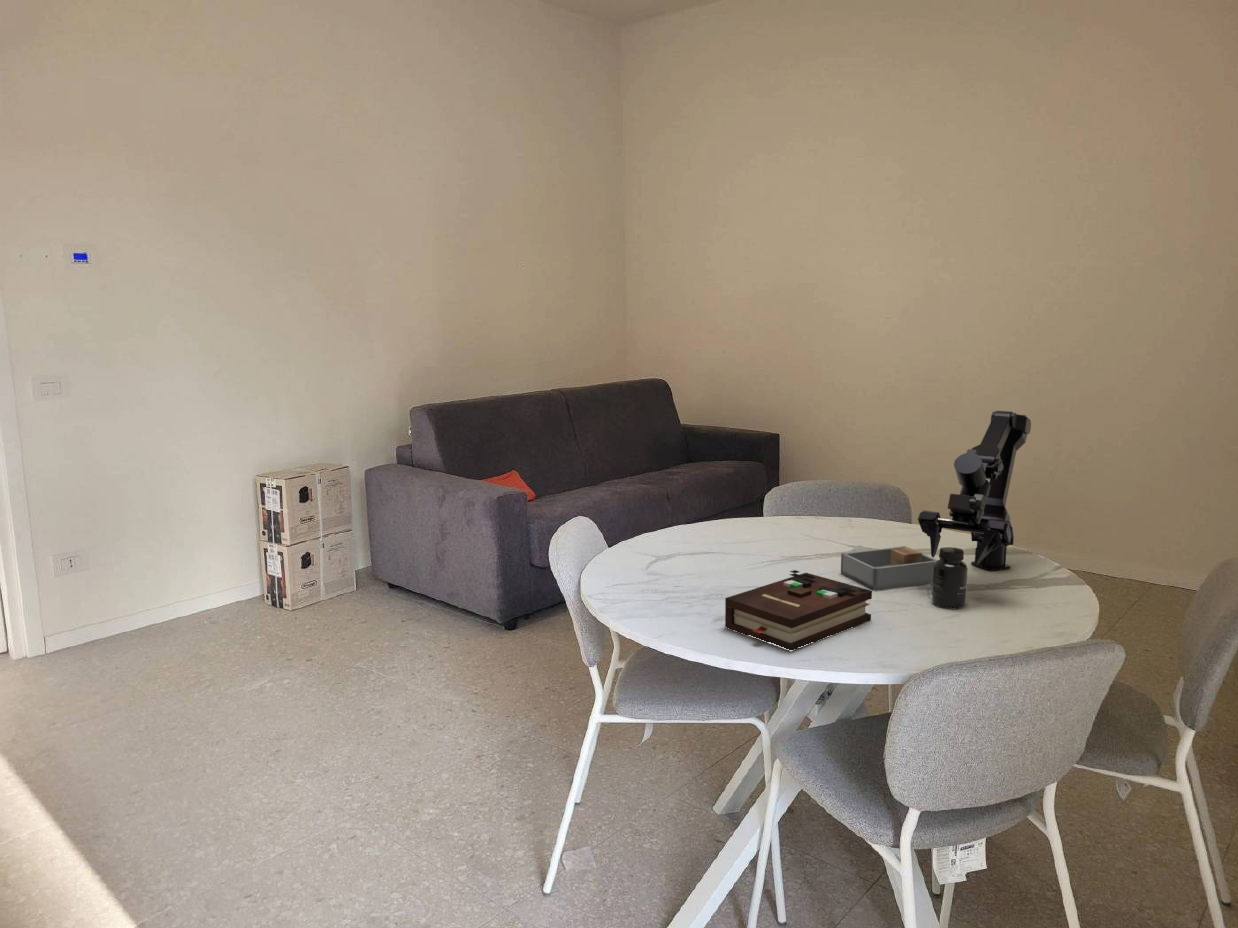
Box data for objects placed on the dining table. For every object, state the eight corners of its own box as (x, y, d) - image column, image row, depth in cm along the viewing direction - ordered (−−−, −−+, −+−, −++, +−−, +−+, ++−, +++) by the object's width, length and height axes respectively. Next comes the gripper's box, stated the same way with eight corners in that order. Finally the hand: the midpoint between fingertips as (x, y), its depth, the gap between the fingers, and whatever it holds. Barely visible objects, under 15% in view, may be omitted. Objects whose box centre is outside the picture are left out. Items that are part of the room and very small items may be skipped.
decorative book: (712, 595, 181) (808, 565, 200) (712, 631, 183) (807, 598, 202) (788, 620, 167) (884, 585, 186) (787, 659, 168) (882, 621, 187)
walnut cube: (908, 567, 218) (908, 547, 217) (921, 573, 213) (922, 552, 213) (890, 569, 217) (891, 549, 216) (903, 575, 212) (903, 554, 211)
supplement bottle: (968, 610, 191) (971, 554, 189) (934, 608, 193) (936, 553, 191) (962, 599, 198) (965, 546, 196) (929, 597, 199) (932, 544, 197)
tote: (903, 565, 223) (904, 546, 222) (939, 581, 210) (940, 561, 209) (840, 573, 217) (841, 553, 217) (873, 590, 205) (874, 569, 204)
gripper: (922, 474, 202) (903, 533, 196) (1011, 484, 191) (994, 546, 185) (932, 503, 210) (913, 560, 203) (1018, 513, 199) (1001, 574, 192)
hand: (954, 559), depth 196 cm, fingers open, 9 cm apart
